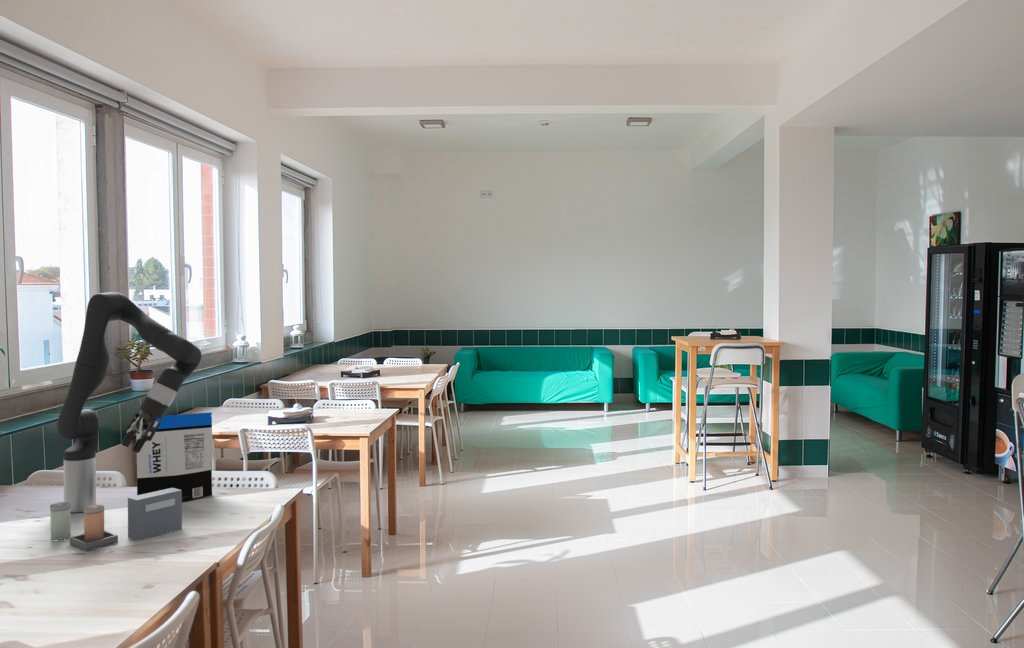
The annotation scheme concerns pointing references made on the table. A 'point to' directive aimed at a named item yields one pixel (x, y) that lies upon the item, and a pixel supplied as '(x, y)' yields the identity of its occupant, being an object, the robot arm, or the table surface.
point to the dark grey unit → (154, 513)
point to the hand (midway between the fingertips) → (129, 448)
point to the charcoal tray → (79, 541)
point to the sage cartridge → (60, 521)
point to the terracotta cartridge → (93, 523)
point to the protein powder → (178, 457)
